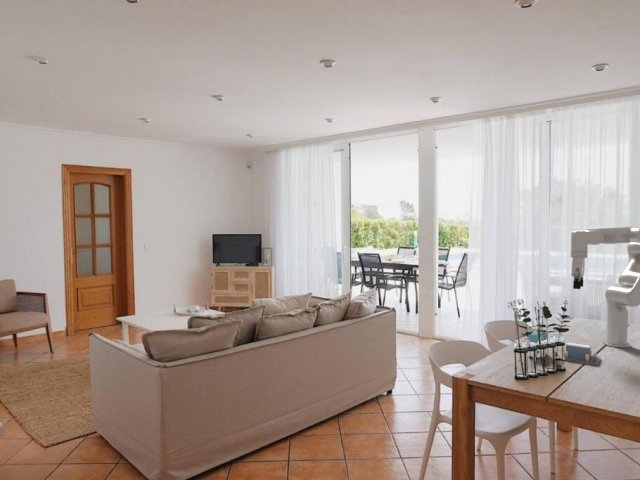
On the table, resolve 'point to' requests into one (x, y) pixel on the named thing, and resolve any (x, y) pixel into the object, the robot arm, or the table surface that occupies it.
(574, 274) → the robot arm
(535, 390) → the table surface
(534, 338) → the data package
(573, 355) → the block
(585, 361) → the tray
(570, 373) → the table surface
